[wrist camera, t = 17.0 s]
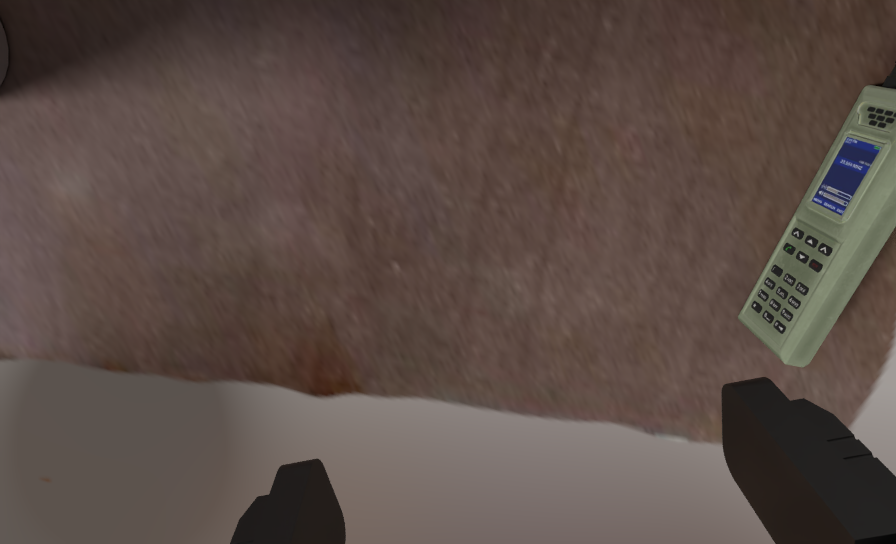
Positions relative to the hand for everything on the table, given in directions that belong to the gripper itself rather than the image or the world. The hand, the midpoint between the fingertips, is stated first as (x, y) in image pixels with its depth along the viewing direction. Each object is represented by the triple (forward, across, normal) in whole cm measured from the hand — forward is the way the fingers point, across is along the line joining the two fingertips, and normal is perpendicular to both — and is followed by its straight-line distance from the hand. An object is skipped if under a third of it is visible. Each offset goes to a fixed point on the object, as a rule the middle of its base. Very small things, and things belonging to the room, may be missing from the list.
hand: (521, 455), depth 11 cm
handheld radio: (+32, -26, +9) cm, 43 cm away
